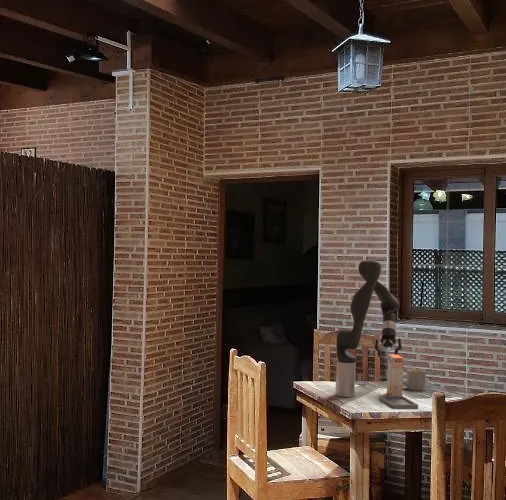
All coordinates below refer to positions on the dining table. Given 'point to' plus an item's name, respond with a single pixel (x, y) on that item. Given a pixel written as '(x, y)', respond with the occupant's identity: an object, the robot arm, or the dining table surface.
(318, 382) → the dining table surface
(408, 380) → the coffee mug
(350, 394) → the robot arm
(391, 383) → the cracker box
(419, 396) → the dining table surface
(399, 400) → the tray
